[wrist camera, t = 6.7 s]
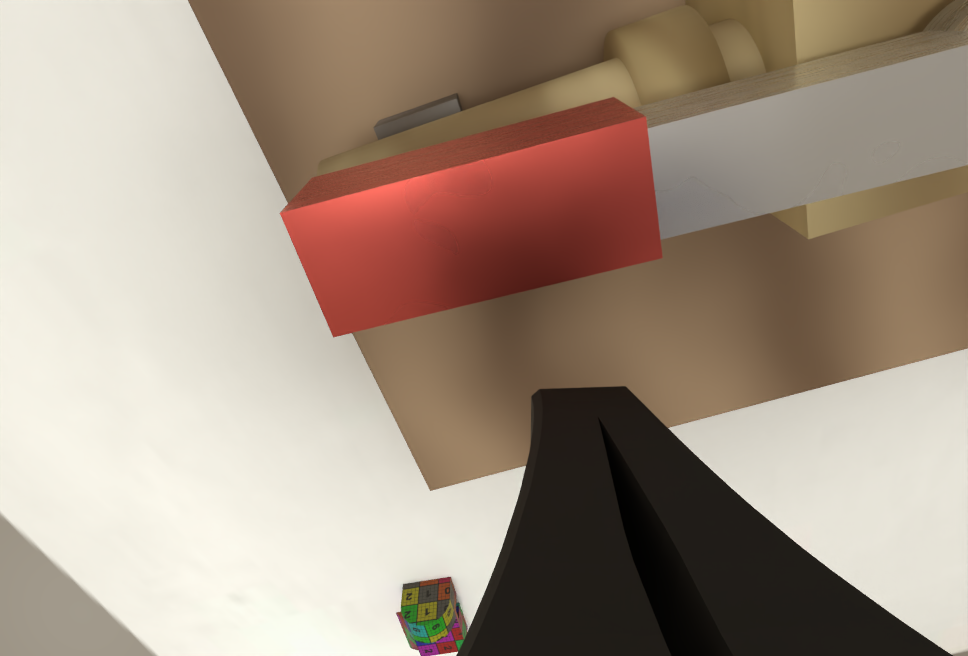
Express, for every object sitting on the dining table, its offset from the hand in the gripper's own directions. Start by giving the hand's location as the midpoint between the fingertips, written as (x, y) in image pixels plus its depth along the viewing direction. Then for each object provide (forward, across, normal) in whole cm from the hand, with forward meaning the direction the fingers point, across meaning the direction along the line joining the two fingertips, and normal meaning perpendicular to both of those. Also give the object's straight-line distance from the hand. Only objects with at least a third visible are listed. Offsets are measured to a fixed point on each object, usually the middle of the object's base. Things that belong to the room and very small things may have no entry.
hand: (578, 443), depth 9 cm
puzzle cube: (+10, +3, +16) cm, 19 cm away
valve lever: (+3, -2, -4) cm, 5 cm away
